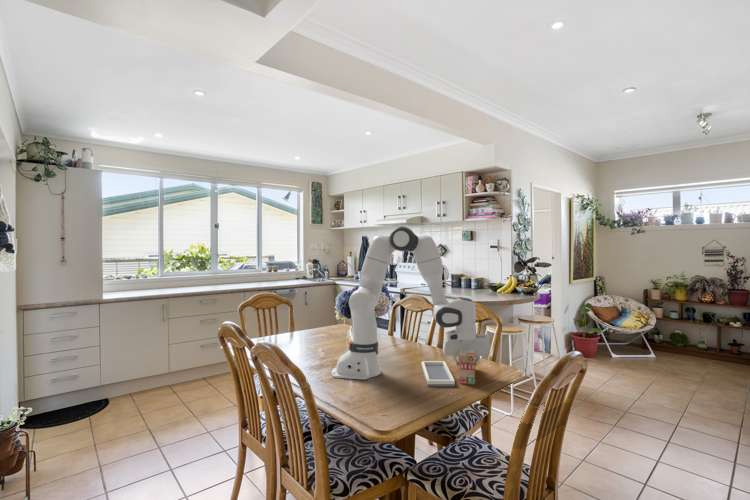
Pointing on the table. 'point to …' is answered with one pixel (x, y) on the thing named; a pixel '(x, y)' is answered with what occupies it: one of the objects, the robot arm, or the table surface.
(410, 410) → the table surface
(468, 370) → the printed food box
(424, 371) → the base plate
